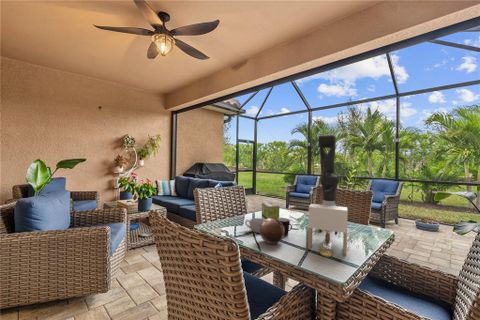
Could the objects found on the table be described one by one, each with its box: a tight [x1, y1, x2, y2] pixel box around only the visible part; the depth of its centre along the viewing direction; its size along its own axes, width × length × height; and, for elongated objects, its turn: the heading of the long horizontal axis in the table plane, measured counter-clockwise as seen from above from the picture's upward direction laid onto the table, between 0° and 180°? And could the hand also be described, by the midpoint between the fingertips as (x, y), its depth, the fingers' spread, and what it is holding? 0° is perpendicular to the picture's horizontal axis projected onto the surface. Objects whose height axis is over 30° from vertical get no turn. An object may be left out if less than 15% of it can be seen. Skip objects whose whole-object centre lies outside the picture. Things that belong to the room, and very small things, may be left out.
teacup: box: [244, 217, 264, 234], centre depth 160 cm, size 14×11×8 cm
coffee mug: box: [278, 217, 293, 237], centre depth 153 cm, size 12×9×10 cm
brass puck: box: [319, 250, 333, 258], centre depth 123 cm, size 6×6×2 cm
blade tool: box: [319, 230, 334, 254], centre depth 136 cm, size 22×7×6 cm, turn 157°
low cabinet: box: [307, 203, 348, 256], centre depth 131 cm, size 10×20×24 cm, turn 67°
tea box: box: [261, 201, 280, 220], centre depth 184 cm, size 15×10×15 cm
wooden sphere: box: [259, 218, 285, 245], centre depth 138 cm, size 15×15×15 cm
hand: (328, 233), depth 141 cm, fingers open, 8 cm apart
